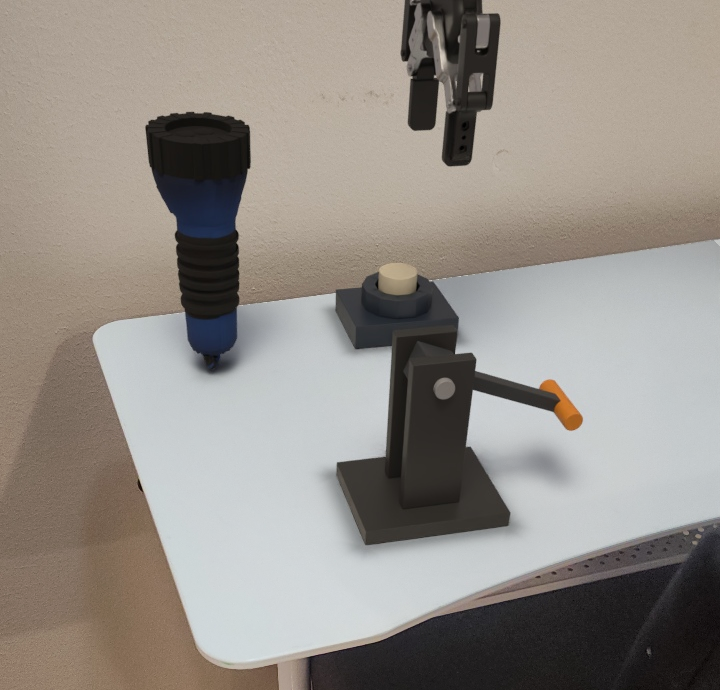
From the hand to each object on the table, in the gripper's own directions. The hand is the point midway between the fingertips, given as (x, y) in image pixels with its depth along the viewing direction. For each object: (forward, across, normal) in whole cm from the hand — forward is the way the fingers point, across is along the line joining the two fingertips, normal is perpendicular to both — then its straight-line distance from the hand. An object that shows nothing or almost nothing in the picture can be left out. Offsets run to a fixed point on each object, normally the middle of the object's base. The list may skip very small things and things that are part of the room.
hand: (437, 146), depth 79 cm
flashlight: (+19, +3, +18) cm, 26 cm away
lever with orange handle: (+10, -21, +3) cm, 24 cm away
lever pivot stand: (+18, -21, +7) cm, 29 cm away
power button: (+15, +7, 0) cm, 16 cm away
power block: (+18, +7, 0) cm, 20 cm away
